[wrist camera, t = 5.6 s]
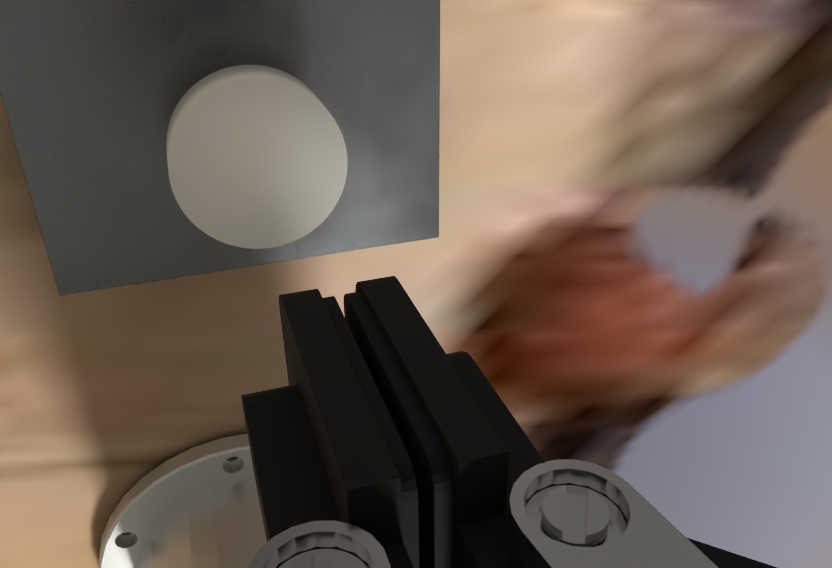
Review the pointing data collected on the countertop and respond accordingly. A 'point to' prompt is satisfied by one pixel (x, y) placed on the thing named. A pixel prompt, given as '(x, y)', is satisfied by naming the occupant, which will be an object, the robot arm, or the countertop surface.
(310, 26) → the housing
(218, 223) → the knob
